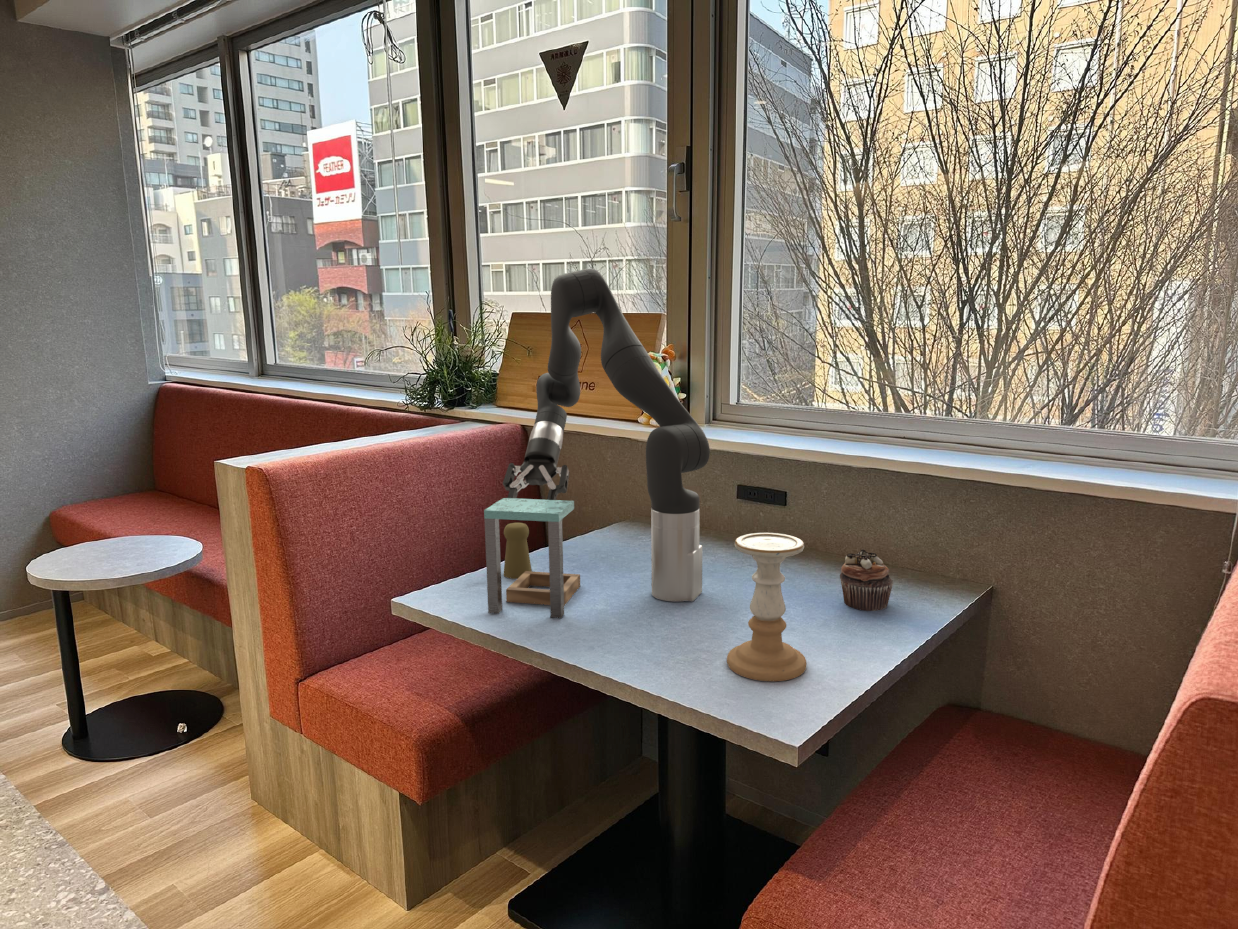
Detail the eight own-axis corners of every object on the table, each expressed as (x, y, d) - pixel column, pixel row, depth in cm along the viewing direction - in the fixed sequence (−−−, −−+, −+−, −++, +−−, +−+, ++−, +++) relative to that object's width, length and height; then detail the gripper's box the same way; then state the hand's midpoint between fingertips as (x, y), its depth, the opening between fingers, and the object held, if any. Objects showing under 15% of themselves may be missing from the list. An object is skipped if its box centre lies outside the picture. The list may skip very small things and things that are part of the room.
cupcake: (878, 617, 153) (880, 563, 151) (829, 604, 159) (831, 553, 158) (901, 603, 160) (904, 551, 158) (853, 591, 166) (856, 542, 165)
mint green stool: (507, 595, 166) (503, 497, 163) (576, 599, 163) (573, 500, 160) (488, 613, 157) (484, 510, 153) (561, 618, 154) (558, 513, 150)
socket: (526, 582, 174) (525, 571, 173) (580, 586, 171) (580, 574, 171) (506, 602, 163) (506, 589, 162) (564, 606, 160) (564, 593, 160)
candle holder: (713, 671, 131) (715, 545, 127) (745, 644, 141) (747, 526, 138) (789, 689, 125) (793, 557, 121) (817, 659, 135) (821, 537, 131)
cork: (527, 579, 176) (525, 528, 174) (499, 578, 177) (497, 526, 175) (535, 570, 181) (534, 520, 179) (508, 569, 183) (507, 519, 181)
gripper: (510, 435, 193) (494, 495, 184) (571, 436, 190) (557, 498, 181) (519, 454, 199) (503, 513, 190) (578, 456, 196) (565, 516, 187)
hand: (529, 506), depth 185 cm, fingers open, 8 cm apart
